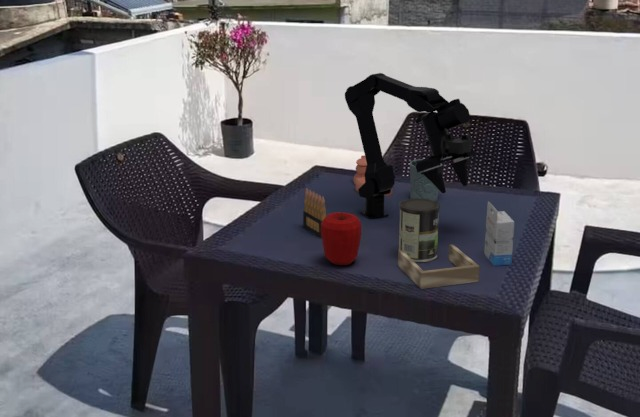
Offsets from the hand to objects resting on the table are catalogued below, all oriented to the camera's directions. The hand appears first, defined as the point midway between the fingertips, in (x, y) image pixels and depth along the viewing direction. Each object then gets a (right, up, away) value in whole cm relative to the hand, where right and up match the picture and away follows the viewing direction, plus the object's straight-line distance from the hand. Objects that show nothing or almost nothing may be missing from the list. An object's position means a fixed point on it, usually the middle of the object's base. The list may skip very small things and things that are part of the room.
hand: (454, 189), depth 212 cm
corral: (-7, -21, -16) cm, 28 cm away
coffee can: (-11, -17, -5) cm, 21 cm away
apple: (-31, -19, -10) cm, 38 cm away
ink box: (+9, -18, -9) cm, 23 cm away
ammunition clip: (-38, -12, +11) cm, 41 cm away
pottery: (-20, +1, +50) cm, 54 cm away
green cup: (-3, -2, +39) cm, 39 cm away
